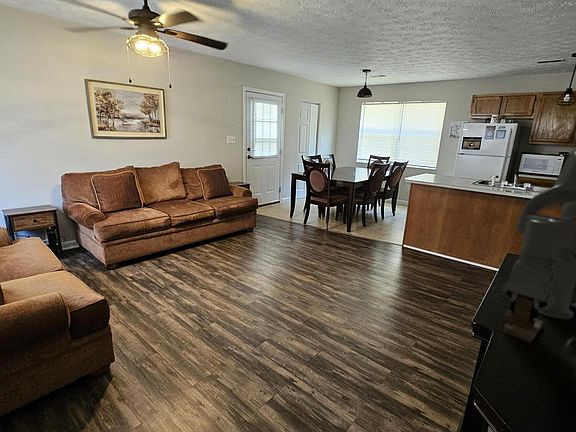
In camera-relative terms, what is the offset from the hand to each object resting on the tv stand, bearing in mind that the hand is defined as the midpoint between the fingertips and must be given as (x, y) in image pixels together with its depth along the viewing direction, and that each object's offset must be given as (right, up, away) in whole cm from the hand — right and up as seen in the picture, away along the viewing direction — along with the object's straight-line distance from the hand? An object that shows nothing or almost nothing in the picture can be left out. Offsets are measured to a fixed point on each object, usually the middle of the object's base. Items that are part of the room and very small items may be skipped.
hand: (522, 315), depth 98 cm
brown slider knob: (0, -5, +1) cm, 5 cm away
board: (+1, -5, +2) cm, 5 cm away
